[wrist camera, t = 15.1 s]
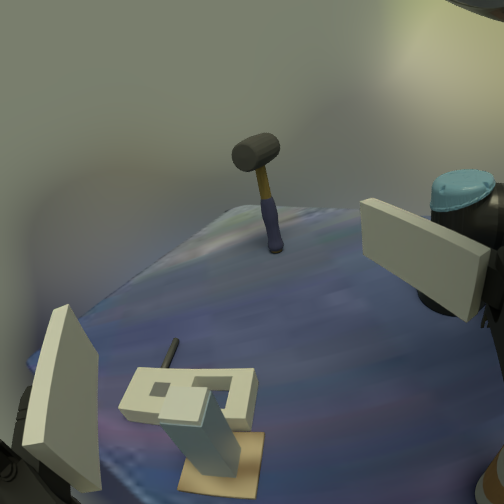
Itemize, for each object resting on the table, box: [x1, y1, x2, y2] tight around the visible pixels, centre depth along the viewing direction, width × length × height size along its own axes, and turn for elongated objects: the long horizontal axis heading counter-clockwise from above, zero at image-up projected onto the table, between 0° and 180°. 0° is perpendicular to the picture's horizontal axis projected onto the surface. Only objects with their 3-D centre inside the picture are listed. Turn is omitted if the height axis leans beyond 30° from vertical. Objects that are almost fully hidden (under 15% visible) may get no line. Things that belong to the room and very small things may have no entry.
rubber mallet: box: [232, 133, 284, 253], centre depth 77 cm, size 12×8×30 cm, turn 152°
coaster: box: [177, 432, 265, 499], centre depth 35 cm, size 10×10×1 cm
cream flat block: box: [118, 338, 259, 431], centre depth 48 cm, size 19×20×4 cm
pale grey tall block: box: [158, 386, 241, 478], centre depth 31 cm, size 4×4×14 cm
